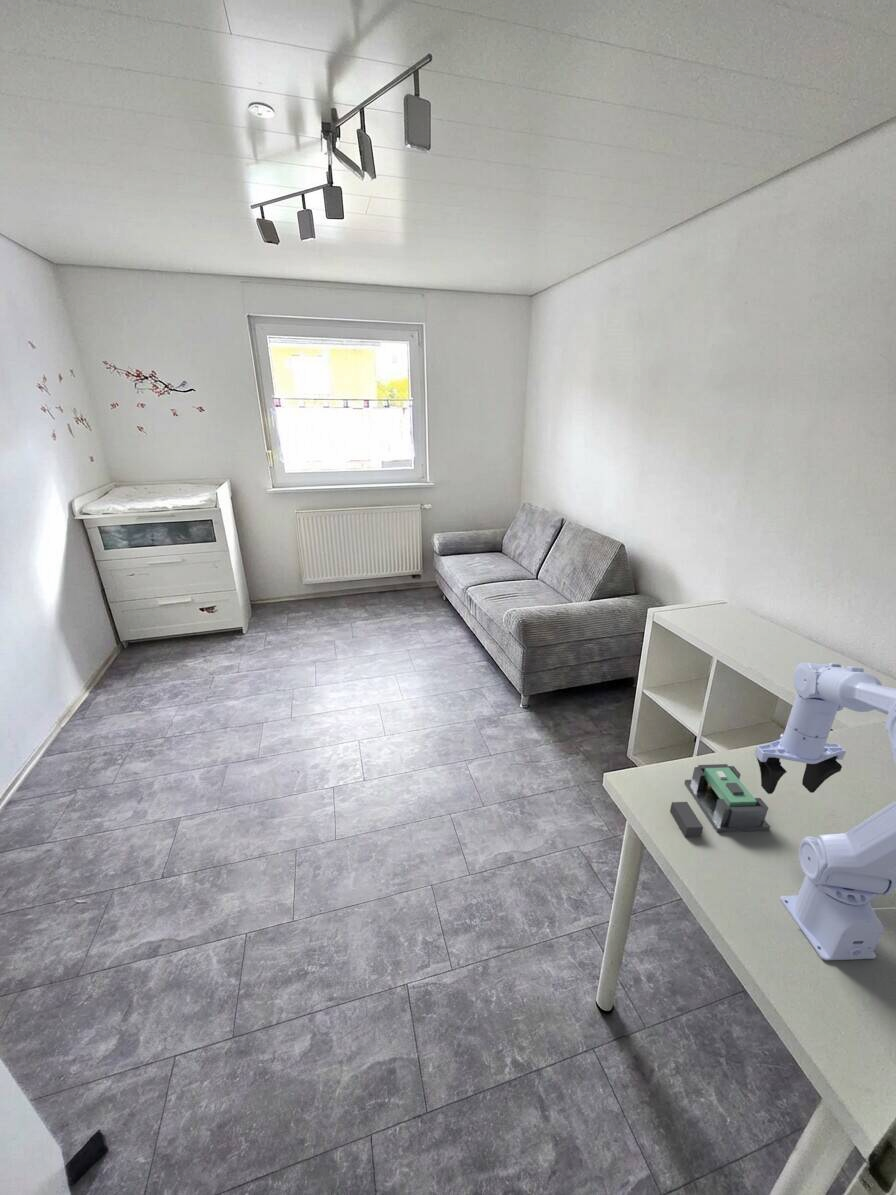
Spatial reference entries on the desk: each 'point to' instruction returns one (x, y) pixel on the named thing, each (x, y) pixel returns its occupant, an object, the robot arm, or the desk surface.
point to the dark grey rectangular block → (686, 819)
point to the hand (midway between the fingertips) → (787, 789)
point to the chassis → (725, 805)
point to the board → (729, 787)
